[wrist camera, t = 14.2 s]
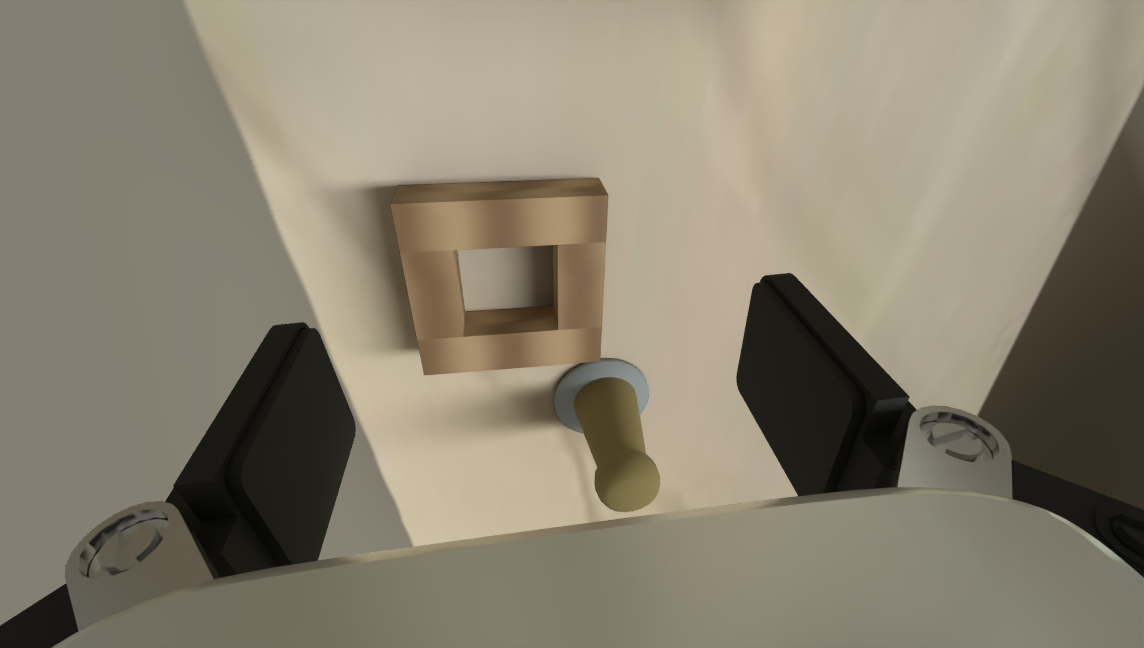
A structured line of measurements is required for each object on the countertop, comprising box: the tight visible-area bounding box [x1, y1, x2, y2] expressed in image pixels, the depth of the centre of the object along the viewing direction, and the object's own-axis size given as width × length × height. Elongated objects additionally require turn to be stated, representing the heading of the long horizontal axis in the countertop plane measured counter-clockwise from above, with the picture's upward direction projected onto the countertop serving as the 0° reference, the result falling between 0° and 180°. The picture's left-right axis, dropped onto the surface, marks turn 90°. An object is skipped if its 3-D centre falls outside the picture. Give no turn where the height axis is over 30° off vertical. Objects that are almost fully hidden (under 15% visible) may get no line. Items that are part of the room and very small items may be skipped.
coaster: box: [554, 358, 649, 433], centre depth 49 cm, size 9×9×1 cm
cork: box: [574, 377, 660, 512], centre depth 44 cm, size 6×6×11 cm
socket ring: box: [390, 178, 608, 375], centre depth 39 cm, size 14×14×4 cm
